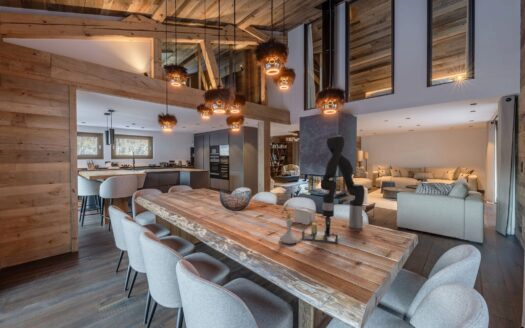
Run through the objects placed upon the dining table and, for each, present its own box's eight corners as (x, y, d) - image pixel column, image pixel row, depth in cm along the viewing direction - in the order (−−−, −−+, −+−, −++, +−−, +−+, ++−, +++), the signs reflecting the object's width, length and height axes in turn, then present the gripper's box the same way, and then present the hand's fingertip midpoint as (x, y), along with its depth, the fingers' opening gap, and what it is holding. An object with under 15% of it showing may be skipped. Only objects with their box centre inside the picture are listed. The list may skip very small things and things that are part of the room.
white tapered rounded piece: (285, 237, 152) (285, 200, 151) (300, 241, 146) (301, 202, 145) (274, 243, 142) (275, 203, 141) (291, 248, 135) (291, 206, 134)
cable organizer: (315, 223, 185) (316, 209, 184) (308, 226, 177) (308, 211, 177) (300, 219, 196) (300, 206, 195) (293, 222, 188) (293, 208, 188)
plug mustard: (316, 233, 161) (317, 223, 161) (316, 234, 158) (316, 224, 158) (311, 232, 162) (311, 223, 162) (311, 234, 159) (311, 224, 158)
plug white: (330, 233, 160) (330, 223, 159) (330, 235, 156) (330, 225, 156) (325, 233, 161) (325, 223, 160) (325, 234, 157) (325, 224, 157)
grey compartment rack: (337, 240, 148) (337, 231, 148) (337, 243, 143) (337, 234, 142) (302, 236, 154) (303, 228, 154) (302, 239, 148) (302, 231, 148)
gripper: (334, 211, 150) (333, 237, 151) (333, 207, 164) (333, 230, 164) (322, 210, 152) (321, 236, 153) (322, 206, 166) (322, 229, 166)
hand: (327, 233), depth 159 cm, fingers closed on plug white, 3 cm apart
